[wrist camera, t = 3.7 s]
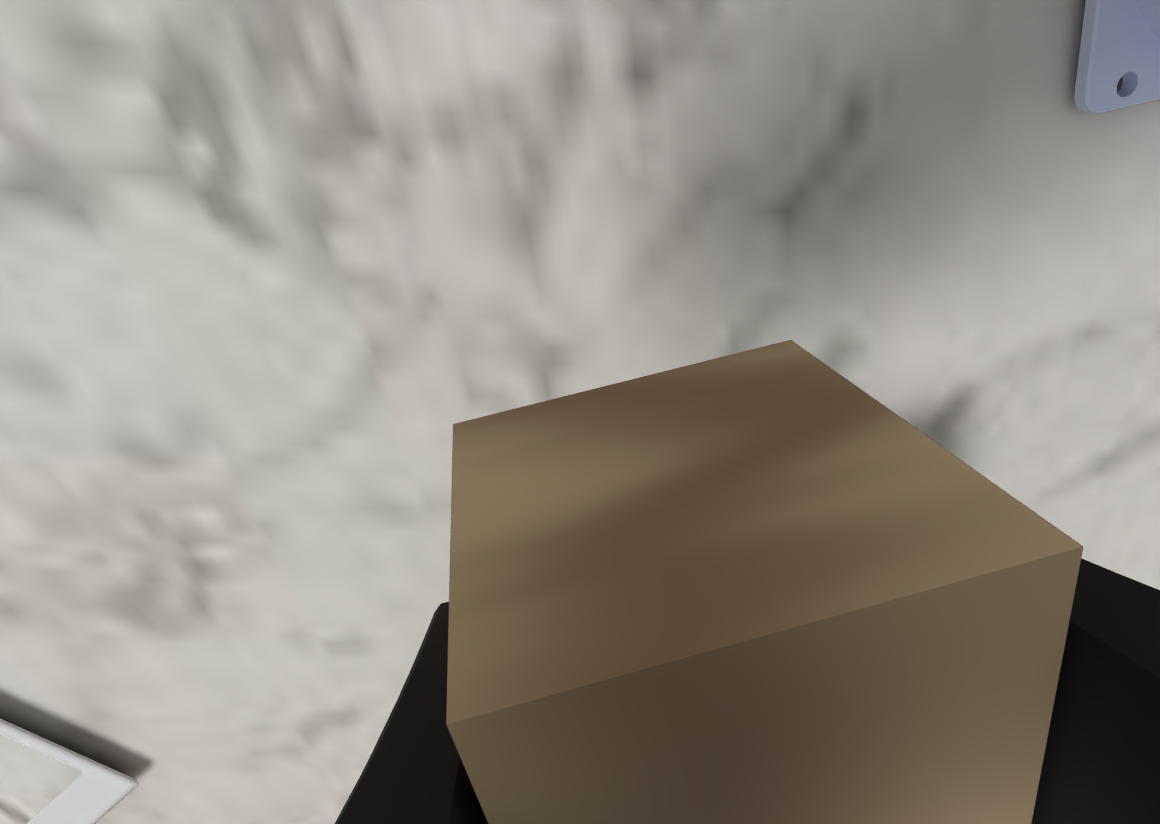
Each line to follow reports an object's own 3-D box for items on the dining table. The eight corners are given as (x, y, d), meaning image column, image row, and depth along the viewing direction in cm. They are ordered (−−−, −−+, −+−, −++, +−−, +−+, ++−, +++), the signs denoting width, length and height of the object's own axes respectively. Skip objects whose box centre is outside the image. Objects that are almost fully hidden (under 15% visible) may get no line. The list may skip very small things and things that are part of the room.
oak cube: (790, 339, 10) (1083, 547, 5) (804, 598, 12) (1016, 900, 7) (453, 424, 9) (445, 723, 5) (532, 673, 11) (579, 1038, 7)
